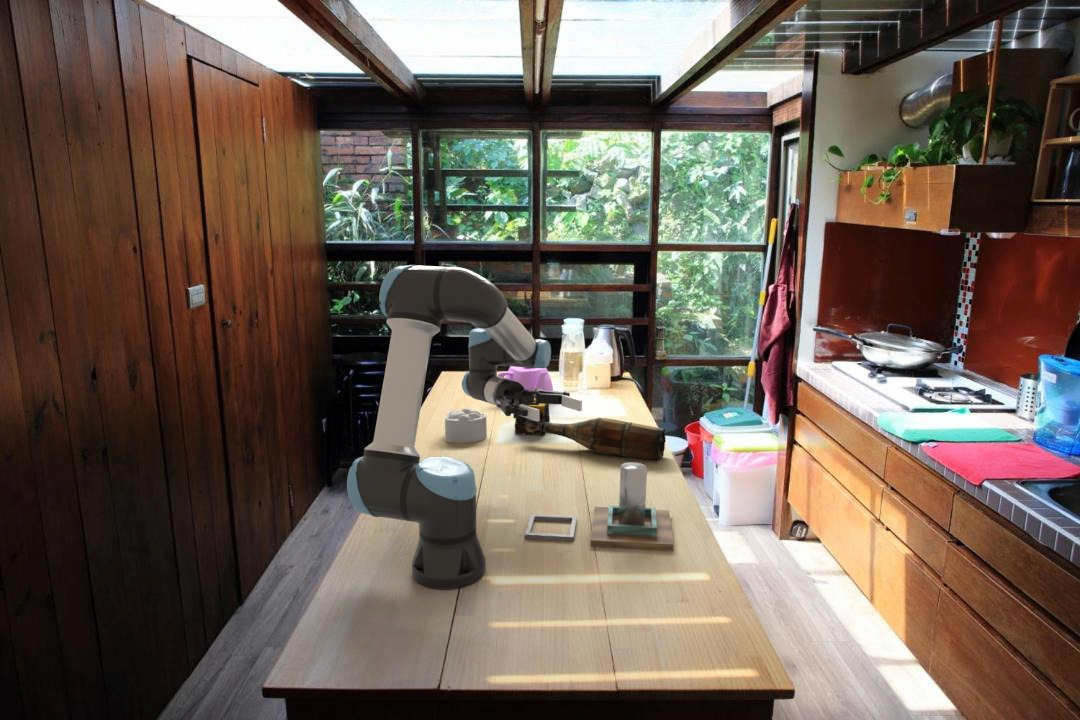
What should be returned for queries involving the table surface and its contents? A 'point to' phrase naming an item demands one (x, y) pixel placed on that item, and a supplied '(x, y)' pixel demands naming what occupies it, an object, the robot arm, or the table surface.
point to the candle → (542, 418)
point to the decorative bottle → (609, 436)
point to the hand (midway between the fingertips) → (560, 410)
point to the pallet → (632, 530)
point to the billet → (632, 493)
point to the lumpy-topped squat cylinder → (465, 426)
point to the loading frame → (551, 536)
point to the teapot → (529, 378)
